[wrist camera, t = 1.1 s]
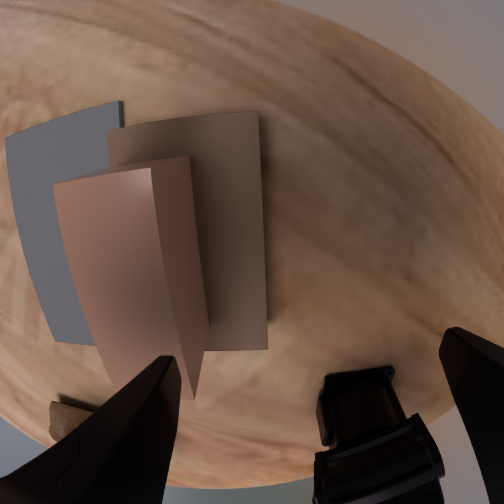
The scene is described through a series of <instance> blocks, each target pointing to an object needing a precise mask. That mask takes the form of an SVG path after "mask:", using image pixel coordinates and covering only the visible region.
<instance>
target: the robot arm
mask: <svg viewBox="0 0 504 504" xmlns="http://www.w3.org/2000/svg"><path fill="white" fill-rule="evenodd" d="M439 358H440V360H441V363H442V366H443V369H444V372H445V375H446V378H447V381H448V384H449V387H450V390H451V393H452V396H453V398H454V401H455V403H456V405H457V408H458V410H459V413H460V415H461V418H462V420H463V422H464V425H465V428H466V430H467V433H468V436H469V438H470V441H471V444H472V447H473V449H474V452H475V455H476V458H477V461H478V464H479V467H480V470H481V474H482V477H483V480H484V484H485V487H486V491H487V494H488V497H489V498H488V499H489V502H490V504H504V348H503V347H500V346H498V345H496V344H494V343H492V342H490V341H488V340H486V339H484V338H481V337H479V336H477V335H475V334H473V333H471V332H469V331H467V330H464V329H462V328H460V327H452V328H448V329H447V330H446V331H445V333H444V336H443V339H442V342H441V345H440V348H439ZM394 373H395V370H394V368H393V367H392V366H388V367H383V368H377V369H370V370H364V371H357V372H350V373H342V374H334V375H328V376H326V377H325V379H324V385H323V392H322V395H320V396H319V397H318V403H317V409H316V416H317V421H318V426H319V432H320V437H321V442H322V445H323V446H324V447H326V446H329V450H327V451H324V452H322V451H320V452H317V453H315V461H314V493H313V498H312V503H313V504H444V497H443V493H442V489H441V486H440V482H439V479H440V478H442V477H444V476H445V469H444V464H443V460H442V457H441V454H440V452H439V449H438V447H437V445H436V443H435V441H434V439H433V438H432V436H431V434H430V433H429V431H428V429H427V427H426V426H425V424H424V422H423V421H422V419H421V417H420V416H419V414H418V413H416V414H414V415H412V417H410V418H408V419H407V418H406V416H405V413H404V411H403V409H402V407H401V404H400V402H399V400H398V398H397V396H396V393H395V391H394V389H393V387H392V385H391V382H392V379H393V376H394ZM330 380H331V381H330ZM181 386H182V379H181V374H180V371H179V367H178V364H177V361H176V358H175V357H174V356H173V355H160V356H159V357H157V358H156V359H155V360H154V361H153V362H152V363H150V364H149V365H148V366H147V367H146V368H145V369H143V370H142V371H141V372H140V373H139V374H138V375H137V376H135V377H134V378H133V379H132V380H131V381H130V382H128V383H127V384H126V385H125V386H124V387H123V388H121V389H120V390H119V391H118V392H117V393H116V394H115V395H113V396H112V397H111V398H110V399H109V400H107V401H106V402H105V403H104V404H103V405H102V406H100V407H99V408H98V409H97V410H96V411H95V412H93V413H92V414H91V415H90V416H89V417H87V418H86V419H85V420H84V421H83V422H82V423H80V424H79V425H78V427H77V428H74V429H73V430H72V431H71V432H70V433H68V434H67V435H66V436H65V437H63V438H62V439H61V440H60V441H58V442H57V443H56V444H54V445H53V446H52V447H50V448H49V449H48V450H46V451H45V452H43V453H42V454H40V455H39V456H37V457H36V458H34V459H32V460H31V461H29V462H28V463H26V464H25V465H23V466H21V467H20V468H19V469H17V470H15V471H14V472H12V473H10V474H8V475H7V476H4V477H2V478H0V504H162V500H163V495H164V490H165V485H166V480H167V475H168V471H169V466H170V461H171V456H172V452H173V447H174V442H175V438H176V433H177V427H178V416H179V406H180V396H181Z"/></svg>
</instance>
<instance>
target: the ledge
mask: <svg viewBox="0 0 504 504" xmlns="http://www.w3.org/2000/svg"><path fill="white" fill-rule="evenodd" d="M107 140H108V151H109V161H110V167H114V166H117V165H123V164H130V163H136V162H143V161H150V160H158V159H166V158H174V157H183V156H190V167H191V179H192V189H193V200H194V209H195V219H196V228H197V237H198V245H199V253H200V261H201V269H202V277H203V284H204V291H205V298H206V305H207V312H208V319H209V325H210V327H209V332H208V336H207V341H206V346H205V351H240V350H267V349H268V332H267V302H266V275H265V250H264V226H263V203H262V182H261V161H260V142H259V123H258V111H251V112H235V113H222V114H211V115H201V116H192V117H184V118H176V119H169V120H162V121H156V122H150V123H144V124H138V125H133V126H128V127H123V128H118V129H113V130H108V131H107Z"/></svg>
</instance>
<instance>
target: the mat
mask: <svg viewBox="0 0 504 504" xmlns="http://www.w3.org/2000/svg"><path fill="white" fill-rule="evenodd" d="M123 127H124V126H123V109H122V102H121V101H116V102H111V103H107V104H103V105H100V106H96V107H92V108H89V109H85V110H82V111H78V112H75V113H72V114H68V115H65V116H62V117H59V118H56V119H53V120H50V121H47V122H45V123H42V124H39V125H36V126H34V127H31V128H29V129H26V130H24V131H21V132H19V133H16V134H14V135H11V136H9V137H7V138H5V147H6V158H7V167H8V176H9V183H10V190H11V196H12V202H13V207H14V212H15V217H16V222H17V227H18V231H19V235H20V239H21V243H22V247H23V251H24V255H25V258H26V262H27V265H28V269H29V272H30V275H31V278H32V282H33V285H34V288H35V291H36V293H37V296H38V299H39V302H40V305H41V307H42V310H43V313H44V315H45V318H46V320H47V323H48V325H49V328H50V330H51V332H52V335H53V337H54V339H55V341H57V342H65V343H73V344H82V345H92V346H96V344H95V342H94V339H93V337H92V334H91V331H90V329H89V326H88V323H87V321H86V318H85V315H84V312H83V309H82V306H81V303H80V300H79V297H78V294H77V290H76V287H75V284H74V280H73V277H72V273H71V270H70V266H69V263H68V259H67V255H66V251H65V247H64V242H63V238H62V234H61V229H60V224H59V219H58V214H57V209H56V203H55V198H54V191H53V184H56V183H59V182H62V181H65V180H68V179H71V178H75V177H78V176H81V175H85V174H88V173H92V172H95V171H99V170H102V169H106V168H110V161H109V151H108V140H107V131H108V130H113V129H118V128H123Z"/></svg>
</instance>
